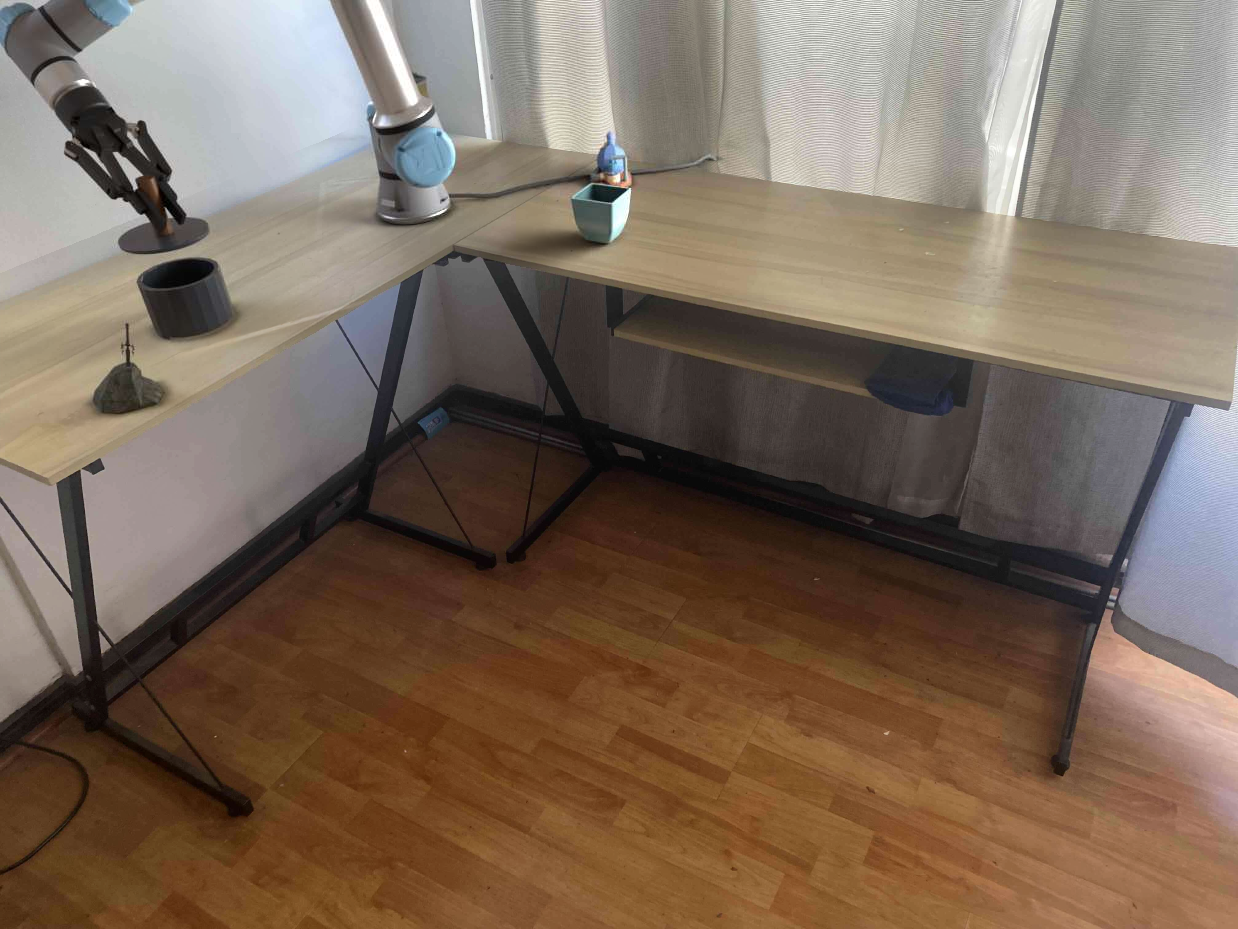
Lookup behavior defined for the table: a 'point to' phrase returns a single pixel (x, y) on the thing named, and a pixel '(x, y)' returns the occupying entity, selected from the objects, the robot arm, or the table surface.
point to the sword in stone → (126, 387)
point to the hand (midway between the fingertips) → (173, 223)
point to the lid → (174, 235)
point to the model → (611, 165)
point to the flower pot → (601, 211)
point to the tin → (185, 297)
